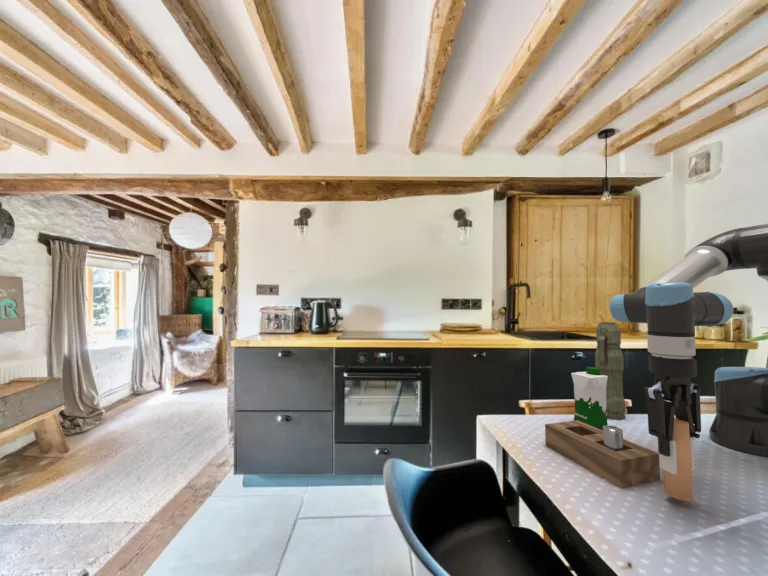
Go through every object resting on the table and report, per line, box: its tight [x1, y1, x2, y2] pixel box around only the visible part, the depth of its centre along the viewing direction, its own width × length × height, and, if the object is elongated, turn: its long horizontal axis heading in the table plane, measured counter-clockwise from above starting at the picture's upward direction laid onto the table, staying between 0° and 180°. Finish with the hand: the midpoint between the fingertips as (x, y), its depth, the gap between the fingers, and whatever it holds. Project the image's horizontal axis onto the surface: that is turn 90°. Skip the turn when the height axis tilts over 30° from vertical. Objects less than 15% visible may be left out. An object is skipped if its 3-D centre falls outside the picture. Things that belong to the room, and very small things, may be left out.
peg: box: [662, 417, 694, 502], centre depth 66 cm, size 4×4×15 cm
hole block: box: [544, 420, 661, 489], centre depth 82 cm, size 12×22×7 cm, turn 16°
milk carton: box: [570, 366, 608, 430], centre depth 108 cm, size 9×9×20 cm
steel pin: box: [603, 425, 624, 451], centre depth 78 cm, size 4×4×10 cm
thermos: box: [594, 321, 626, 421], centre depth 120 cm, size 9×12×35 cm
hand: (677, 468), depth 65 cm, fingers closed on peg, 4 cm apart
